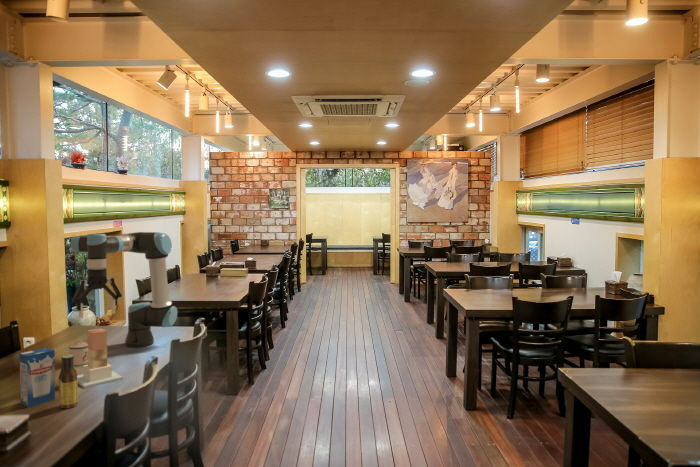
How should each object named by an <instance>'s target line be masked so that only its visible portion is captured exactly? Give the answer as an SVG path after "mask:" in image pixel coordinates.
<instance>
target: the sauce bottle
mask: <svg viewBox="0 0 700 467" xmlns="http://www.w3.org/2000/svg"><path fill="white" fill-rule="evenodd" d="M73 359H74V355H69V354H65V355H62V356H61V362H62V363H61V370H60V372H59V375H58V403H59V407H60V408H61V409H71V408H74V407H76V406H77V405H78V399H79V398H78V397H79V396H78V395H79V392H78V391H79V390H78V387H79V386H78V385H79V384H78V383H77V375H78V372H77V370H76V369H75V367H74V365H73Z"/></svg>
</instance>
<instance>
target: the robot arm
mask: <svg viewBox="0 0 700 467" xmlns="http://www.w3.org/2000/svg"><path fill="white" fill-rule="evenodd" d="M70 248H71V250H72V251H73V252H75V253H78V252H79V253H87V258H86V259H87V260H86V261H87V268H88V269H87V279H86V280H83V279H80V280H79V285H78V287H77V289H76V290H75V293H74V295H73V297H72V299H71V302H72V303H76V311H78V318H80V319H83V318H84V303H82V302H83V301H84V299H85V298H86V297H87V296H88V295H89V293H90V292H92V291H93V290H94V291H95V290H103V289H104V290H105V292H107V293H108V294H109V295H110V297H112V298H111V299H110V300H111V301H110V302H111V303H110V304H111V305H110V308H111V311H110V312H111V314H112V315H113V314H116V307H117V306H118V299H119V298H122V295H123V294H122V293H121V292H120V289H119V288H118V286H117V284H116V282H115V278H114V277H107V274H108V273H107V254H111V253H114V254H115V253H119V252H122V253H127V252H128V253H135V254H144V256H145V257H144V258H145V259H146V260H147V261H148V267H149V279H150V287H151V298H152V301H151V302H150V301H146V302H145V301H144V302H138V303H133V304H130V305H129V306H128V311H127V316H128V317H127V320H128V321H127V324H128V325H127V327H128V330H127V333H126V337H125V340H124V346H125V347H128V348H142V347H143V348H144V347H147V346H152V345H154V342H155V338H154V335H153V333H152V331H151V327H156V328H157V327H161V328H170V327H172V326H173V325H174V324H175V322H176V320H177V317H178V308H177V306H173V301H172V300H170V296H169V285H168V275H167V274H168V273H167V260H166V259H167V258H168V257H169V254H170V253H171V252H172V239H171V237H170V236H169V235H168V234H167V233H165V232H157V231H156V232H154V231H153V232H152V231H150V232H149V231H148V232H147V231H139V232H137V231H136V232H129V233H121V234H119V235H107V234H106V233H99V232H98V233H97V232H96V233H88V235H75V236H73V237H72V238H71V240H70ZM108 283H109V284H110V286H111V288H112V289H113V291H114V292H113V291H112V289H110V287H109V286H108V285H107V284H108ZM86 284H87V285H88V286H86ZM84 286H86V288H85V290H84V291H83V289H84ZM82 291H83V292H82Z"/></svg>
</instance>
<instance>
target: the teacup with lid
mask: <svg viewBox="0 0 700 467" xmlns="http://www.w3.org/2000/svg"><path fill="white" fill-rule="evenodd" d="M68 350H69V352H68V353H69V354H68V355H74V359H73V365H74V366H75V367H76V366H84V365H88V345H87V341H83V340H82V339H77V340H76V342H74V343H70V345H69V347H68ZM74 366H73V367H74Z"/></svg>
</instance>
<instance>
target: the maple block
mask: <svg viewBox="0 0 700 467" xmlns="http://www.w3.org/2000/svg"><path fill="white" fill-rule="evenodd" d="M107 363H108V348H106V349H100V350H95V351H92V350H90V349H88V363H87V365H88V366H89V367H91V368H92V369H95V368H99V367H104V366H107Z"/></svg>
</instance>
